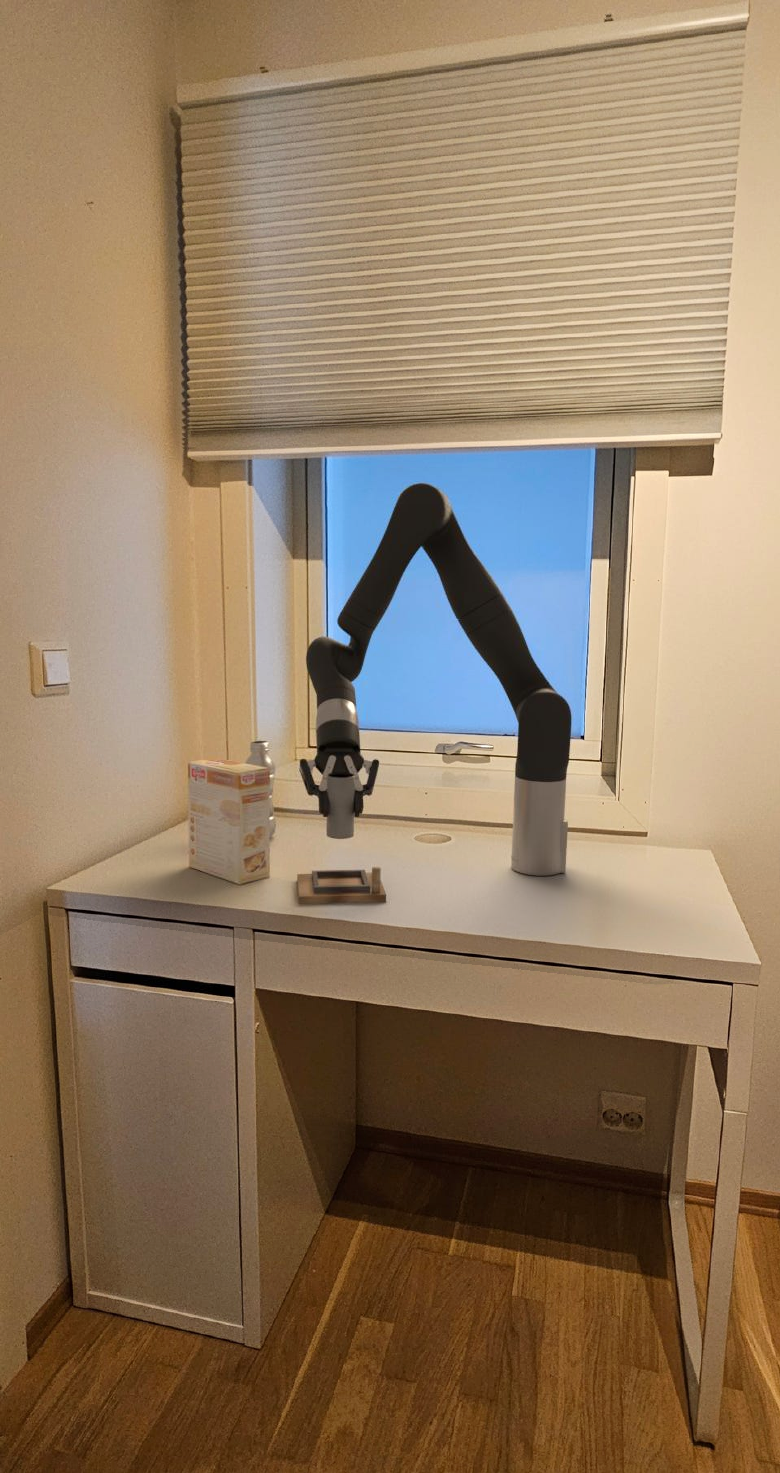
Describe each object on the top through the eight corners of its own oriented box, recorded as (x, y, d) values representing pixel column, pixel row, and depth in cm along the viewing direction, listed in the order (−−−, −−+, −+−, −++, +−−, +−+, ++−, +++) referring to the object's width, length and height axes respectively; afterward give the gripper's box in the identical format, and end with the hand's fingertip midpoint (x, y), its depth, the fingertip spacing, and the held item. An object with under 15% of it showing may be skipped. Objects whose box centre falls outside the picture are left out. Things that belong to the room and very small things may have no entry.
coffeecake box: (271, 877, 149) (271, 767, 146) (238, 885, 144) (238, 772, 141) (219, 859, 159) (218, 756, 156) (187, 867, 153) (186, 761, 151)
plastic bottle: (282, 837, 176) (282, 741, 173) (261, 844, 170) (260, 745, 167) (258, 832, 179) (258, 738, 176) (236, 839, 173) (236, 742, 170)
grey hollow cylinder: (350, 840, 138) (351, 778, 137) (323, 838, 139) (324, 776, 137) (356, 833, 142) (358, 773, 141) (330, 831, 143) (331, 771, 142)
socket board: (377, 879, 149) (378, 850, 148) (386, 901, 137) (386, 870, 136) (297, 880, 147) (297, 851, 146) (298, 903, 135) (299, 872, 134)
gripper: (297, 717, 144) (298, 802, 134) (380, 718, 146) (387, 802, 136) (296, 743, 150) (296, 826, 140) (376, 743, 152) (382, 826, 142)
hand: (341, 814), depth 138 cm, fingers closed on grey hollow cylinder, 4 cm apart
